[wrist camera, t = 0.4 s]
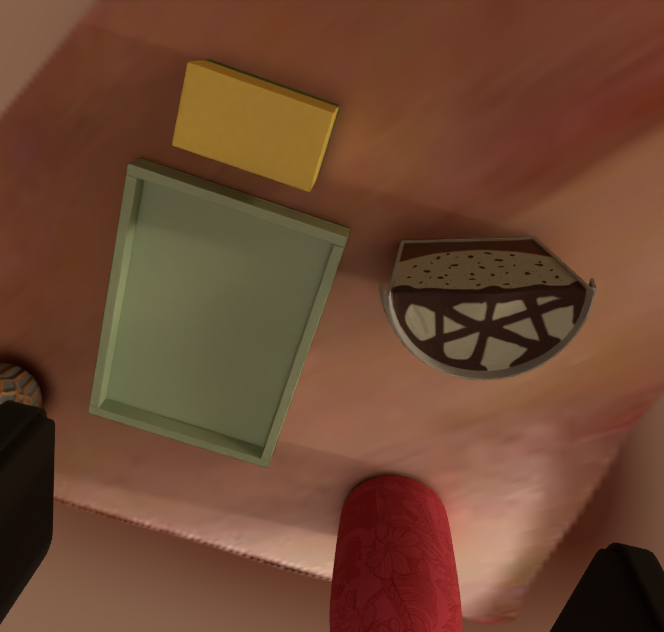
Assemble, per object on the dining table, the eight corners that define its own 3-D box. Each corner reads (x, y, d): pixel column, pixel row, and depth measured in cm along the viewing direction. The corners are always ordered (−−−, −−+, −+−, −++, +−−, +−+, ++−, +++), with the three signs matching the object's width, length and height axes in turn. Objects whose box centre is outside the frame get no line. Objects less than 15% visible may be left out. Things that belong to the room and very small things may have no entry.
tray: (139, 157, 41) (127, 162, 39) (350, 228, 42) (348, 237, 40) (99, 398, 50) (87, 413, 48) (271, 452, 51) (267, 468, 49)
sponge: (207, 58, 37) (186, 61, 34) (339, 105, 38) (334, 113, 34) (192, 135, 40) (171, 145, 36) (317, 177, 40) (309, 193, 36)
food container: (381, 317, 44) (380, 388, 35) (380, 240, 42) (378, 296, 33) (548, 315, 43) (590, 388, 34) (557, 235, 41) (605, 292, 32)
